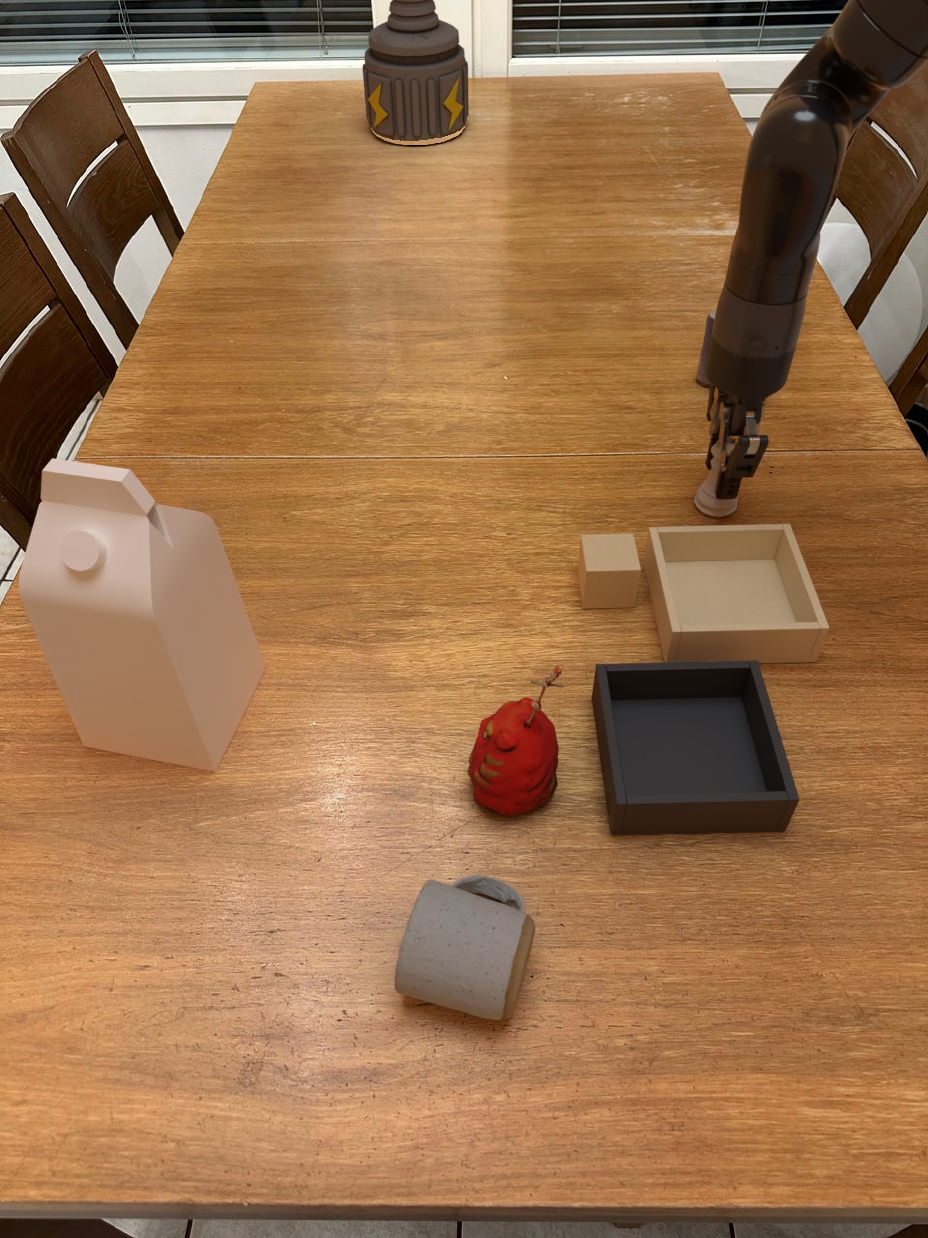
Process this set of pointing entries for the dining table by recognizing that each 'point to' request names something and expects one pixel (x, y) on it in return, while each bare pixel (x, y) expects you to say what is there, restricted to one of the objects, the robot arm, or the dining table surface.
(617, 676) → the charcoal bin
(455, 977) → the ceramic mug
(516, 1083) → the dining table surface
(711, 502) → the rook chess piece
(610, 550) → the cream block
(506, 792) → the red clay folk toy
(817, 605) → the ivory bin
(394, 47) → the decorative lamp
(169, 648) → the milk
